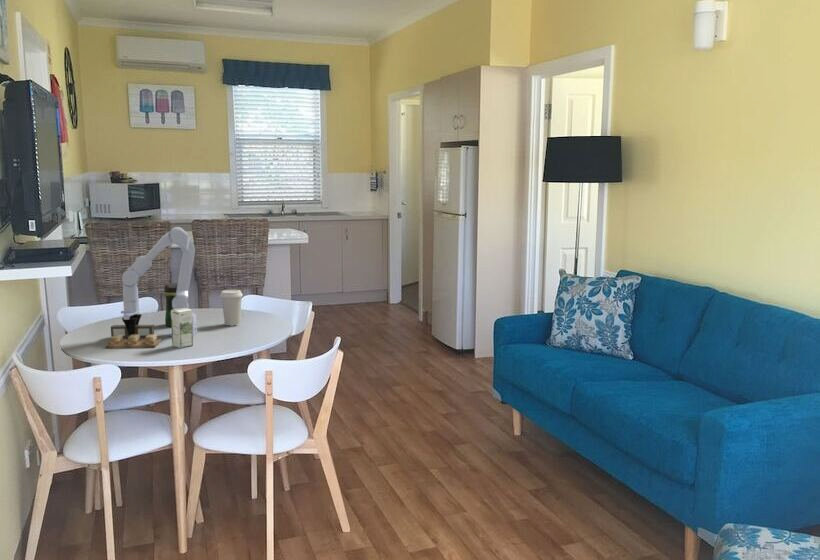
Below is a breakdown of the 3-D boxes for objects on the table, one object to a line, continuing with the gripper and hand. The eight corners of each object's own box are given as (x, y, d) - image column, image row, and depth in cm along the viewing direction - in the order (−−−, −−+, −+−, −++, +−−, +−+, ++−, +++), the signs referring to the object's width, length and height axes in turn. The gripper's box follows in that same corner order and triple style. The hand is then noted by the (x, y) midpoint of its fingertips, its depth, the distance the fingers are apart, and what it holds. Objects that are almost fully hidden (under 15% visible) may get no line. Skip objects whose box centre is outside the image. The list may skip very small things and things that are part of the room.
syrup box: (185, 343, 268) (183, 307, 266) (193, 345, 265) (192, 309, 263) (171, 346, 264) (170, 309, 262) (180, 348, 260) (178, 311, 258)
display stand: (161, 341, 271) (161, 332, 271) (154, 347, 261) (154, 338, 261) (114, 342, 270) (114, 333, 269) (105, 348, 260) (105, 339, 259)
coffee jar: (166, 327, 295) (164, 285, 292) (164, 324, 302) (162, 282, 299) (190, 325, 299) (188, 283, 296) (187, 322, 306) (185, 281, 304)
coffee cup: (246, 322, 306) (245, 289, 304) (239, 327, 297) (238, 293, 295) (225, 322, 307) (224, 289, 305) (217, 326, 298) (216, 292, 295)
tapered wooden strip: (154, 336, 279) (153, 324, 278) (152, 338, 276) (151, 326, 275) (113, 337, 278) (113, 325, 277) (111, 339, 275) (110, 326, 274)
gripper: (126, 297, 281) (128, 329, 283) (114, 303, 267) (116, 337, 269) (144, 297, 282) (145, 329, 284) (133, 303, 268) (135, 337, 270)
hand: (132, 333), depth 277 cm, fingers closed on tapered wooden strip, 3 cm apart
